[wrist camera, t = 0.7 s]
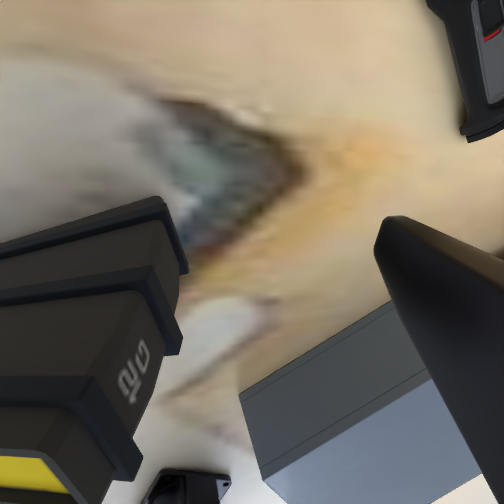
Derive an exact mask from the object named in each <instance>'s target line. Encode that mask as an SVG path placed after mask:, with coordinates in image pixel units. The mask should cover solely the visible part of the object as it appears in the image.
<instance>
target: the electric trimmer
mask: <svg viewBox="0 0 504 504" xmlns="http://www.w3.org/2000/svg"><path fill="white" fill-rule="evenodd" d="M425 1H426V3H427V5H428V7H429V8H430V9H431V10H432V11H433V12H434V13H435V14H436V15H438V16H439V17H440V19H441V20H442V21H443V22H444V24H445V28H446V32H447V36H448V40H449V44H450V48H451V52H452V56H453V60H454V64H455V68H456V72H457V76H458V80H459V84H460V89H461V93H462V97H463V101H464V105H465V109H466V113H467V121H466V123H465V124H464V126H462V127H461V128H460V134H461V135H465V136H466V139H467V142H468V143H471V142H475V141H478V140H481V139H484V138H486V137H489V136H491V135H493V134H495V133H497V132H499V131H501V130H503V129H504V0H425Z"/></svg>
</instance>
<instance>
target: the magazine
mask: <svg viewBox="0 0 504 504" xmlns="http://www.w3.org/2000/svg"><path fill="white" fill-rule="evenodd" d="M188 273H189V268H188V262H187V259H186V256H185V254H184V251H183V248H182V246H181V243H180V240H179V237H178V235H177V232H176V229H175V227H174V224H173V221H172V218H171V216H170V213H169V210H168V207H167V205H166V203H164V201H163V199H162V198H161V197H160V196H153V197H150V198H147V199H144V200H140V201H137V202H134V203H131V204H127V205H124V206H121V207H118V208H114V209H111V210H108V211H105V212H102V213H98V214H95V215H92V216H89V217H85V218H82V219H79V220H76V221H72V222H69V223H66V224H63V225H60V226H56V227H53V228H50V229H47V230H43V231H40V232H37V233H34V234H31V235H27V236H24V237H21V238H18V239H14V240H11V241H8V242H5V243H1V244H0V504H102V501H103V499H104V497H105V495H106V493H107V491H108V489H109V487H110V484H111V482H112V480H117V481H129V482H132V481H134V479H135V477H136V475H137V472H138V470H139V468H140V465H141V463H142V461H143V455H142V453H141V452H140V450H139V448H138V447H137V445H136V444H135V442H134V440H133V439H132V437H133V435H134V433H135V431H136V429H137V427H138V424H139V422H140V420H141V418H142V416H143V414H144V412H145V409H146V407H147V405H148V403H149V401H150V399H151V397H152V394H153V392H154V388H155V384H156V381H157V377H158V374H159V370H160V367H161V363H162V360H163V356H172V355H179V352H180V348H181V344H182V340H183V336H182V333H181V331H180V329H179V326H178V324H177V321H176V319H175V317H174V314H175V310H176V305H177V301H178V296H179V276H180V275H184V274H188Z"/></svg>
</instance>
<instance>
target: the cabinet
mask: <svg viewBox="0 0 504 504" xmlns="http://www.w3.org/2000/svg"><path fill="white" fill-rule="evenodd" d="M239 399H240V403H241V406H242V409H243V413H244V416H245V420H246V424H247V427H248V431H249V434H250V438H251V441H252V445H253V448H254V452H255V455H256V459H257V462H258V466H259V469H260V473H261V476H262V480H263V481H264V482H265V483H266V484H267V485H268V486H269V487H270V488H271V489H272V490H273V491H275V492H276V493H277V494H278V495H279V496H280V497H281V498H282V499H283V500H284V501H285V502H286V503H287V504H431V503H432V502H434V501H436V500H437V499H439V498H441V497H442V496H444V495H446V494H448V493H449V492H451V491H452V490H454V489H456V488H458V487H459V486H461V485H463V484H465V483H466V482H468V481H470V480H471V479H473V478H475V477H476V476H478V475H480V474H481V473H482V472H481V470H480V468H479V466H478V464H477V463H476V461H475V459H474V457H473V455H472V453H471V451H470V449H469V448H468V446H467V444H466V442H465V440H464V438H463V436H462V434H461V432H460V431H459V429H458V427H457V425H456V423H455V421H454V419H453V417H452V416H451V414H450V412H449V410H448V408H447V406H446V404H445V402H444V401H443V399H442V397H441V395H440V393H439V391H438V389H437V387H436V385H435V384H434V382H433V380H432V378H431V376H430V374H429V372H428V370H427V369H426V367H425V365H424V363H423V361H422V359H421V357H420V355H419V354H418V352H417V350H416V348H415V346H414V344H413V342H412V340H411V338H410V337H409V335H408V333H407V331H406V329H405V327H404V325H403V323H402V322H401V319H400V317H399V315H398V313H397V311H396V309H395V307H394V304H393V302H392V300H391V301H390V302H388V303H387V304H385V305H383V306H382V307H380V308H378V309H377V310H375V311H374V312H372V313H370V314H369V315H367V316H365V317H364V318H362V319H361V320H359V321H357V322H356V323H354V324H353V325H351V326H349V327H348V328H346V329H344V330H343V331H341V332H340V333H338V334H336V335H335V336H333V337H331V338H330V339H328V340H327V341H325V342H323V343H322V344H320V345H318V346H317V347H315V348H314V349H312V350H310V351H309V352H307V353H306V354H304V355H302V356H301V357H299V358H297V359H296V360H294V361H293V362H291V363H289V364H288V365H286V366H284V367H283V368H281V369H280V370H278V371H276V372H275V373H273V374H272V375H270V376H268V377H267V378H265V379H263V380H262V381H260V382H259V383H257V384H255V385H254V386H252V387H250V388H249V389H247V390H246V391H244V392H242V393H241V394H239Z"/></svg>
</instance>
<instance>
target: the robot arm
mask: <svg viewBox="0 0 504 504" xmlns="http://www.w3.org/2000/svg"><path fill="white" fill-rule="evenodd" d="M374 257H375V259H376V262H377V264H378V267H379V269H380V272H381V274H382V277H383V279H384V282H385V284H386V287H387V290H388V292H389V295H390V297H391V300H392V302H393V304H394V307H395V309H396V311H397V313H398V315H399V317H400V319H401V322H402V323H403V325H404V327H405V329H406V331H407V333H408V335H409V337H410V338H411V340H412V342H413V344H414V346H415V348H416V350H417V352H418V354H419V355H420V357H421V359H422V361H423V363H424V365H425V367H426V369H427V370H428V372H429V374H430V376H431V378H432V380H433V382H434V384H435V385H436V387H437V389H438V391H439V393H440V395H441V397H442V399H443V401H444V402H445V404H446V406H447V408H448V410H449V412H450V414H451V416H452V417H453V419H454V421H455V423H456V425H457V427H458V429H459V431H460V432H461V434H462V436H463V438H464V440H465V442H466V444H467V446H468V448H469V449H470V451H471V453H472V455H473V457H474V459H475V461H476V463H477V464H478V466H479V468H480V470H481V472H482V474H483V476H484V478H485V479H486V481H487V483H488V485H489V487H490V489H491V491H492V493H493V495H494V496H495V498H496V500H497V502H498V504H504V260H502V259H500V258H498V257H495V256H493V255H491V254H489V253H487V252H484V251H482V250H480V249H478V248H475V247H473V246H471V245H469V244H466V243H464V242H462V241H460V240H457V239H455V238H453V237H451V236H449V235H446V234H444V233H442V232H440V231H437V230H435V229H433V228H431V227H428V226H426V225H424V224H422V223H420V222H417V221H415V220H413V219H411V218H408V217H406V216H402V215H401V216H388V217H386V218H385V219H384V220H383V221H382V224H381V227H380V230H379V233H378V236H377V239H376V242H375V245H374ZM231 484H232V483H231V478H230V477H229V476H222V475H213V474H204V473H195V472H187V471H178V470H169V469H165V470H162V471H160V473H159V474H158V476H157V478H156V479H155V481H154V483H153V484H152V486H151V488H150V489H149V491H148V493H147V495H146V496H145V498H144V500H143V501H142V503H141V504H221V503H220V500H221V499H222V497H223V496H224V495H225V493H226V492H227V490H228V489H229V487H230V486H231Z"/></svg>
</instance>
